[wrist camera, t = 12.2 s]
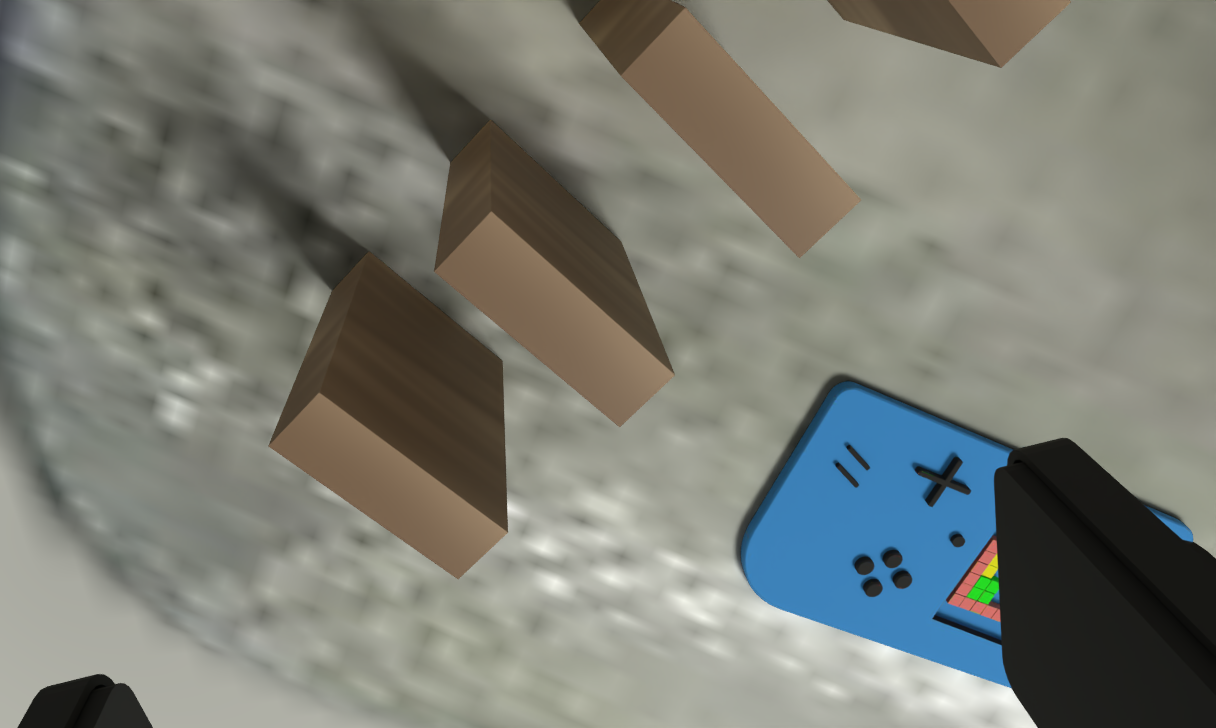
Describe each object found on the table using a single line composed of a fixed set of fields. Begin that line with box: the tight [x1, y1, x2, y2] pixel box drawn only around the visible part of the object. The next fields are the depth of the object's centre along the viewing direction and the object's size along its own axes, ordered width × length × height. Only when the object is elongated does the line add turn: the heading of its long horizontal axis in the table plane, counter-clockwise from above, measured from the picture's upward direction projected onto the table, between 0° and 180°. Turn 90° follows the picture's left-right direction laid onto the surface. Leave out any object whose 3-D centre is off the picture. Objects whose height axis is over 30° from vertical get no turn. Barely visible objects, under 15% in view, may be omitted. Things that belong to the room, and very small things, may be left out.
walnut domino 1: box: [269, 252, 508, 579], centre depth 25 cm, size 2×5×9 cm, turn 45°
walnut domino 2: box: [434, 120, 675, 427], centre depth 24 cm, size 2×5×9 cm, turn 45°
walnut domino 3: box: [579, 0, 861, 258], centre depth 23 cm, size 2×5×9 cm, turn 45°
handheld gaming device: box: [741, 381, 1193, 688], centre depth 34 cm, size 8×1×15 cm
